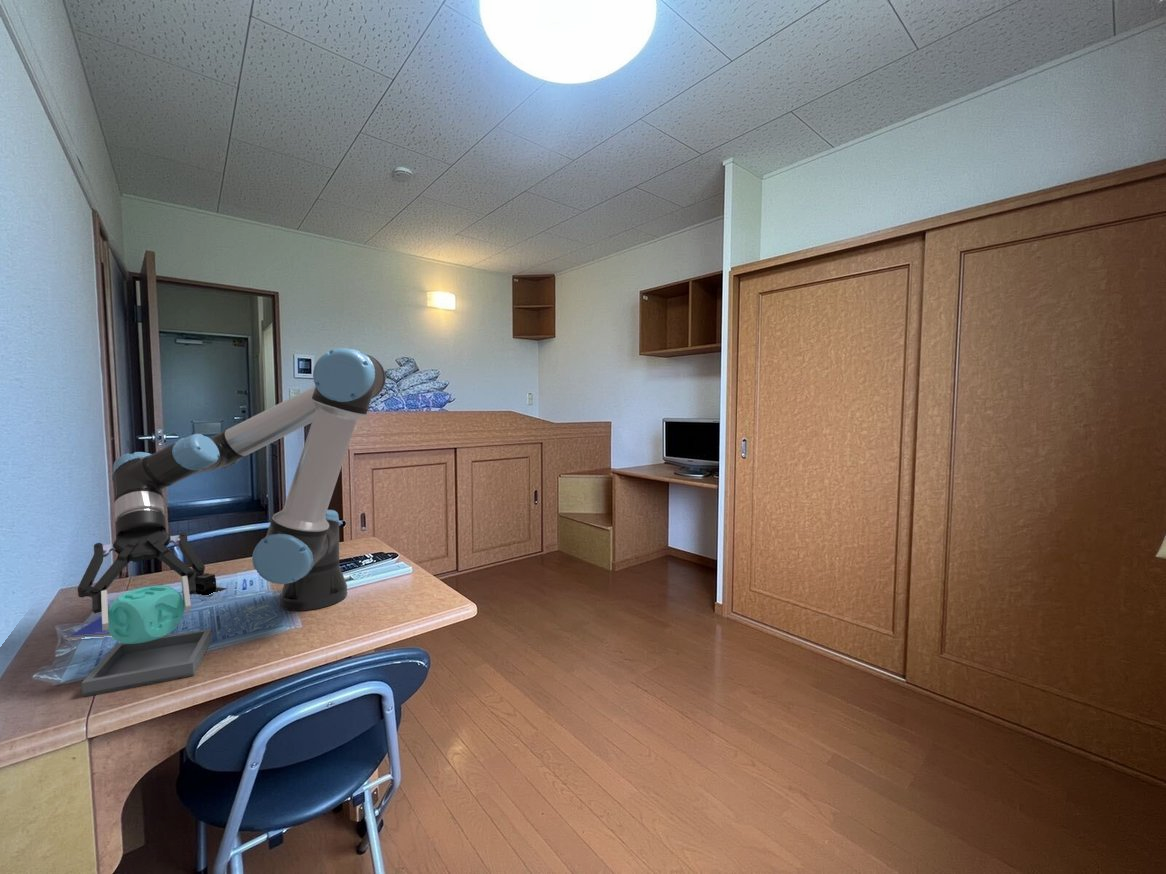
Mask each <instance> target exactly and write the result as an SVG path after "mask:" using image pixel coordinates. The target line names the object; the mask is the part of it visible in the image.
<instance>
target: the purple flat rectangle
mask: <svg viewBox="0 0 1166 874" xmlns="http://www.w3.org/2000/svg"><path fill="white" fill-rule="evenodd" d="M104 636H111V635H110V633H109V631H108V630H105V631H102V616H100V617H98V618H97V619H96V620H93V621H91V623H88V624H87V625H85V626H83V627H81V628H80V629H78V630H75V632H73V633H72V634H70V635H68V636H66V639H65V640H72V639H81V638H85V637H104Z"/></svg>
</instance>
